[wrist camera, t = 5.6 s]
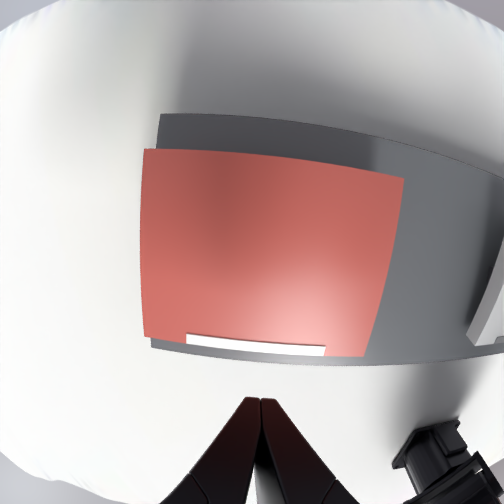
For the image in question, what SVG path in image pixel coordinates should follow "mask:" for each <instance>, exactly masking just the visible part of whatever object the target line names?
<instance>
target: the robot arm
mask: <svg viewBox="0 0 504 504" xmlns="http://www.w3.org/2000/svg"><path fill="white" fill-rule="evenodd" d="M459 425H460V421H459V420H455V421H451V422H447V423H443V424H439V425H434V426H430V427H425V428H420V429H417V430H415V431H414V432H413V433H412V435H411V437H410V438H409V440H408V442H407V443H406V445H405V446H404V448H403V449H402V451H401V453H400V454H399V456H398V457H397V459H396V460H395V462H394V463H393V464H392V468H393V469H399V468H403V467H405V469H406V471H407V474H408V476H409V478H410V480H411V483H412V485H413V487H414V490H415V492H416V494H417V496H415V497H413V498H412V499H410V500H407V501H405V502H403V504H502V503H501V502H500V500H499V498H498V497H500V496H501V495H502V494H503V493H504V491H503V489H502V487H501V486H500V484H499V483H498V481H497V479H496V478H495V476H494V475H493V473H492V472H491V470H490V469H489V467H488V466H487V464H486V463H485V461H484V460H483V458H482V457H481V455H480V454H479V452H478V451H476V452H475V453H474V454H473V456H471V455H470V454H469V452H468V451H467V444H466V443H465V441H464V440H463V439H462V437H461V436H460V434H459V433H458V431H457V428H458V426H459ZM253 468H254V473H255V484H256V495H257V504H360V503H359V502H357V500H356V499H355V498H354V497H353V496H352V495H351V494H350V493H349V492H348V491H347V490H346V489H345V487H344V486H343V485H342V484H341V483H340V481H339V480H336V477H335V476H334V474H333V473H332V472H331V471H330V469H329V468H328V467H327V466H326V465H325V463H324V462H323V461H322V460H321V458H320V457H319V456H318V455H317V453H316V452H315V451H314V450H313V448H312V447H311V446H310V444H309V443H308V442H307V441H306V439H305V438H304V437H303V435H302V434H301V433H300V431H299V430H298V429H297V427H296V426H295V425H294V423H293V422H292V421H291V419H290V418H289V417H288V415H287V414H286V413H285V411H284V410H283V409H282V407H281V406H280V404H279V403H278V402H277V400H276V399H271V398H262V399H261V400H260V399H259V398H257V397H245V398H244V399H243V401H242V402H241V404H240V405H239V406H238V408H237V409H236V411H235V412H234V413H233V415H232V416H231V418H230V419H229V420H228V422H227V423H226V424H225V426H224V427H223V429H222V430H221V431H220V433H219V434H218V435H217V437H216V438H215V439H214V441H213V442H212V443H211V445H210V446H209V447H208V448H207V450H206V451H205V452H204V454H203V455H202V456H201V458H200V459H199V460H198V461H197V463H196V464H195V465H194V466H193V468H192V469H191V470H190V471H189V474H187V475H186V476H185V477H184V478H183V480H182V481H181V482H180V483H179V484H178V485H177V487H176V488H175V489H174V490H173V491H172V492H171V493H170V494H169V495H168V496H167V497H166V498H165V499H164V500H163V501H162V502H161V503H159V504H246V500H247V495H248V491H249V487H250V482H251V478H252V473H253ZM481 468H482V469H483V470H482V471H480V472H478V471H479V470H480V469H481ZM476 472H478V473H476Z"/></svg>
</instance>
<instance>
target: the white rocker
mask: <svg viewBox="0 0 504 504" xmlns="http://www.w3.org/2000/svg"><path fill="white" fill-rule="evenodd" d="M466 336H467V337H468V338H469V340H470V341H471V342H472V343H473V345H474V346H480V345H488V344H497V343H504V238H503V241H502V245H501V248H500V251H499V254H498V257H497V260H496V263H495V266H494V269H493V272H492V275H491V278H490V280H489V283H488V286H487V288H486V291H485V293H484V296H483V298H482V300H481V303H480V305H479V307H478V310H477V312H476V314H475V316H474V318H473V321H472V323H471V325H470V327H469V329H468V331H467V333H466Z"/></svg>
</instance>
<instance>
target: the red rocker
mask: <svg viewBox="0 0 504 504" xmlns="http://www.w3.org/2000/svg"><path fill="white" fill-rule="evenodd" d="M403 184H404V178H401V177H396V176H392V175H387V174H382V173H378V172H373V171H368V170H362V169H357V168H352V167H346V166H340V165H334V164H328V163H322V162H315V161H308V160H301V159H293V158H285V157H277V156H268V155H258V154H248V153H236V152H223V151H207V150H185V149H144V156H143V169H142V186H141V210H140V273H141V297H142V313H143V327H144V336H145V337H150V338H156V339H161V340H167V341H173V342H180V343H186V344H193V345H200V346H207V347H215V348H223V349H232V350H242V351H252V352H263V353H276V354H291V355H310V356H345V357H363V356H364V353H365V351H366V348H367V344H368V341H369V338H370V335H371V332H372V329H373V325H374V322H375V319H376V315H377V312H378V308H379V304H380V301H381V297H382V293H383V289H384V285H385V281H386V277H387V273H388V269H389V264H390V260H391V255H392V250H393V246H394V240H395V235H396V230H397V224H398V218H399V212H400V206H401V199H402V192H403Z"/></svg>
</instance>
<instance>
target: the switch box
mask: <svg viewBox="0 0 504 504" xmlns="http://www.w3.org/2000/svg"><path fill="white" fill-rule="evenodd" d="M156 149H185V150H207V151H223V152H236V153H248V154H258V155H268V156H277V157H285V158H293V159H301V160H308V161H315V162H322V163H328V164H334V165H340V166H346V167H352V168H357V169H362V170H368V171H373V172H378V173H382V174H387V175H392V176H396V177H401V178H404V184H403V192H402V199H401V206H400V212H399V218H398V224H397V230H396V235H395V240H394V246H393V250H392V255H391V260H390V264H389V269H388V273H387V277H386V281H385V285H384V289H383V293H382V297H381V301H380V304H379V308H378V312H377V315H376V319H375V322H374V325H373V329H372V332H371V335H370V338H369V341H368V344H367V348H366V351H365V353H364V356H363V357H345V356H310V355H291V354H276V353H263V352H252V351H242V350H232V349H223V348H215V347H207V346H200V345H193V344H186V343H180V342H173V341H167V340H161V339H156V338H151V347H152V348H157V349H162V350H168V351H174V352H180V353H187V354H193V355H200V356H208V357H215V358H223V359H232V360H242V361H252V362H264V363H277V364H293V365H318V366H379V365H402V364H418V363H430V362H441V361H450V360H459V359H467V358H474V357H481V356H487V355H493V354H499V353H504V343H497V344H488V345H480V346H474V345H473V343H472V342H471V341H470V340H469V338H468V337H467V336H466V333H467V331H468V329H469V327H470V325H471V323H472V321H473V318H474V316H475V314H476V312H477V310H478V307H479V305H480V303H481V300H482V298H483V296H484V293H485V291H486V288H487V286H488V283H489V280H490V278H491V275H492V272H493V269H494V266H495V263H496V260H497V257H498V254H499V251H500V248H501V245H502V241H503V238H504V179H503V178H501V177H498V176H496V175H494V174H491V173H489V172H487V171H484V170H482V169H479V168H476V167H474V166H471V165H469V164H466V163H463V162H460V161H458V160H455V159H452V158H449V157H446V156H443V155H440V154H437V153H434V152H430V151H427V150H424V149H421V148H417V147H414V146H410V145H407V144H403V143H399V142H395V141H392V140H388V139H384V138H379V137H375V136H371V135H367V134H362V133H357V132H352V131H348V130H342V129H337V128H332V127H326V126H320V125H314V124H307V123H301V122H293V121H286V120H277V119H268V118H258V117H247V116H233V115H215V114H160V121H159V128H158V136H157V144H156Z"/></svg>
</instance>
